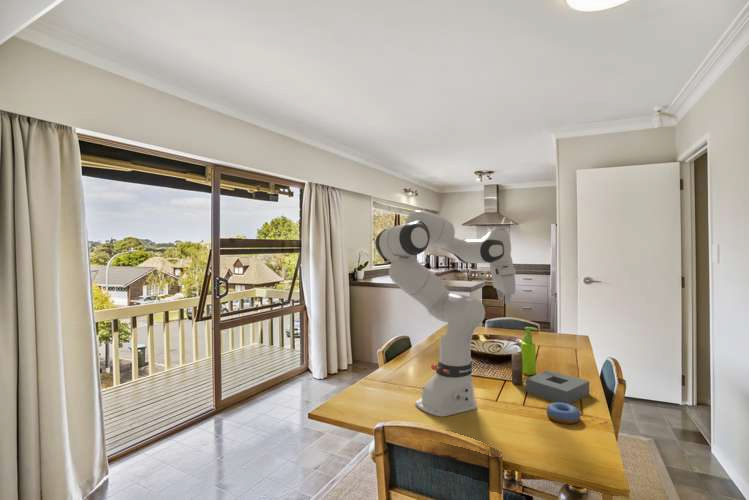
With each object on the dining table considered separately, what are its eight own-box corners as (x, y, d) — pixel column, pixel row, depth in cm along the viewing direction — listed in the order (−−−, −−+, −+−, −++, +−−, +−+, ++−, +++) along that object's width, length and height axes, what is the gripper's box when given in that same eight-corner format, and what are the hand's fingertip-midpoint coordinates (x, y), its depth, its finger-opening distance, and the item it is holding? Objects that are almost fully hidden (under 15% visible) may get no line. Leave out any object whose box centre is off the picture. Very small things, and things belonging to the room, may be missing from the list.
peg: (518, 386, 153) (518, 356, 152) (510, 383, 156) (509, 353, 156) (524, 383, 155) (524, 354, 155) (515, 380, 158) (515, 352, 158)
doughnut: (580, 427, 118) (579, 412, 118) (545, 422, 123) (544, 407, 123) (581, 417, 126) (580, 403, 127) (548, 413, 131) (547, 399, 132)
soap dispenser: (536, 376, 163) (535, 329, 163) (519, 373, 167) (519, 327, 167) (539, 372, 168) (539, 327, 167) (523, 369, 172) (523, 325, 171)
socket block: (567, 405, 134) (567, 391, 134) (525, 391, 147) (525, 378, 147) (589, 394, 143) (589, 381, 143) (548, 382, 156) (548, 370, 156)
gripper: (487, 266, 166) (490, 297, 166) (500, 271, 145) (503, 307, 146) (502, 264, 165) (504, 296, 166) (517, 270, 145) (520, 306, 146)
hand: (504, 301), depth 156 cm, fingers open, 8 cm apart
